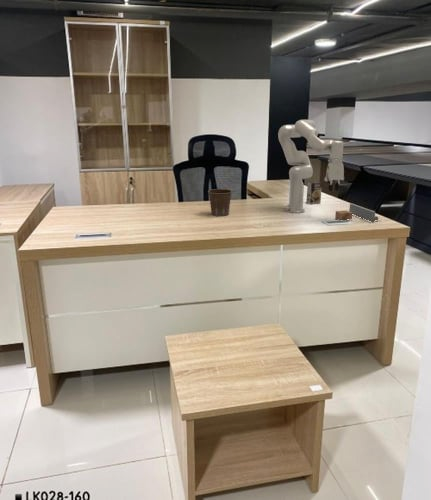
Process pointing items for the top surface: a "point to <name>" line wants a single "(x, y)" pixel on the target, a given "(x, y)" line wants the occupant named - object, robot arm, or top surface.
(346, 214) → the walnut block
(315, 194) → the coffee box
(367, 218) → the board
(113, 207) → the top surface
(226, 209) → the plant pot
